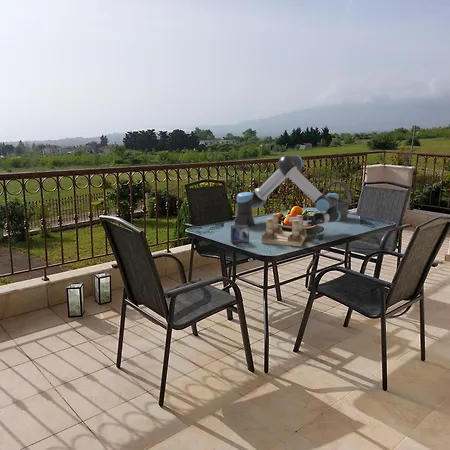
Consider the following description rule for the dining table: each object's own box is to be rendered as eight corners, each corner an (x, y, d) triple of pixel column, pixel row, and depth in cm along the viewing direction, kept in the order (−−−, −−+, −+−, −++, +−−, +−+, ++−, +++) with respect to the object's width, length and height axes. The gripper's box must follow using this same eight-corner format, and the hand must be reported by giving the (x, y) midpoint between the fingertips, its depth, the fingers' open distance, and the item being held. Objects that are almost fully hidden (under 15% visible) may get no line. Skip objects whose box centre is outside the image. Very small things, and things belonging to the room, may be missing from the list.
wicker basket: (338, 222, 304) (340, 182, 297) (314, 217, 322) (316, 180, 316) (356, 218, 317) (358, 180, 310) (332, 214, 335) (334, 178, 328)
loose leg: (296, 233, 261) (297, 215, 258) (303, 233, 259) (303, 215, 257) (295, 234, 257) (296, 216, 255) (302, 234, 256) (302, 216, 253)
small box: (232, 244, 244) (232, 227, 242) (230, 241, 250) (230, 225, 248) (249, 243, 246) (249, 226, 244) (246, 240, 252) (246, 224, 250)
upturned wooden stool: (270, 234, 269) (270, 212, 266) (306, 236, 261) (307, 215, 258) (261, 242, 247) (261, 219, 244) (300, 246, 239) (301, 222, 236)
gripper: (334, 227, 256) (309, 231, 245) (307, 220, 277) (283, 223, 266) (335, 215, 254) (309, 219, 243) (308, 209, 275) (283, 212, 264)
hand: (295, 221), depth 255 cm, fingers open, 13 cm apart
